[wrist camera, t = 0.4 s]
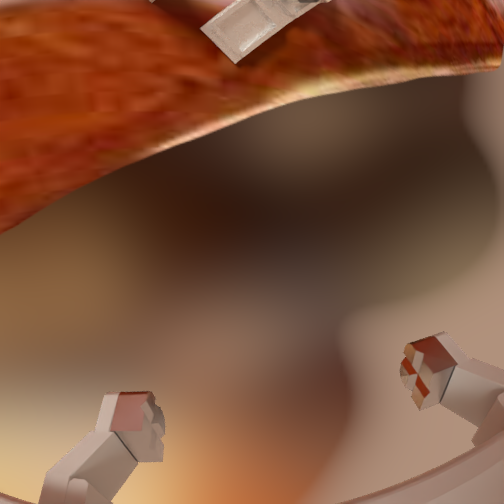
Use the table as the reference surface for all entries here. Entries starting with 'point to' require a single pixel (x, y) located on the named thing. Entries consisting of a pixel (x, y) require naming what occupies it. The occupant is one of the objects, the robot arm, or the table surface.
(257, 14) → the pillar on stepped tray
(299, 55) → the table surface
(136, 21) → the table surface
